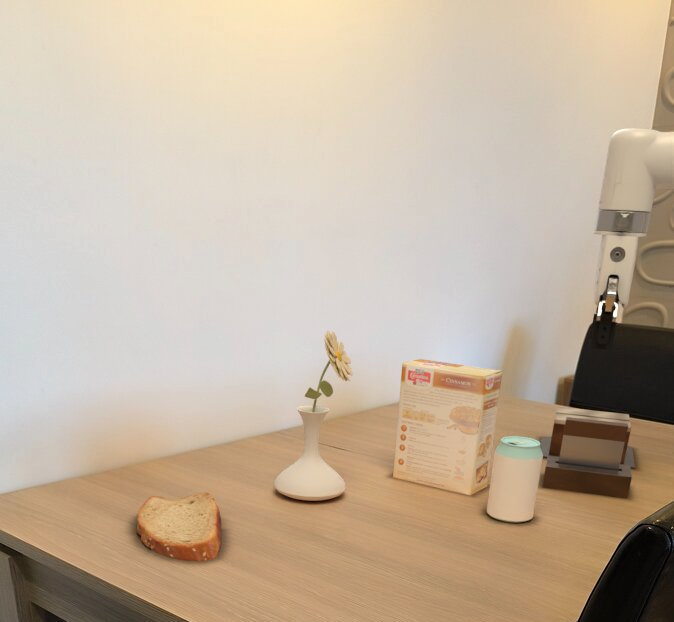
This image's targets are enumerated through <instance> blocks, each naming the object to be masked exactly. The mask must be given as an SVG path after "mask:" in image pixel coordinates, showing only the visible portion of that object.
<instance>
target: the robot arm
mask: <svg viewBox="0 0 674 622" xmlns="http://www.w3.org/2000/svg"><path fill="white" fill-rule="evenodd" d="M600 189H601V190H600V194H599V195H600V196H599V202H598V208H597V209H598V210H597V212H596V213H597V214H596V218H595V219H596V220H595V226H594V231H593V234H594V235H601V240H600V245H599V251H598V257H597V265H596V272H595V280H594V293H593V299H594V301H593V302H594V305H596V310H595V313H593V318H592V324H591V330H590V335H589V336H590V337H589V339H590V345H589V346H590V347H589V348H591V349H594V350H604V351H611V350H612V349H613V345H614V341H615V334H616V329H617V323H618V322H617V315H618V308H619V305H621V307H622V309H625V308H627V307H628V306H629V302H630V301H629V299H630V293H631V290H632V289H631V288H632V283H633V277H634V271H635V266H636V261H637V254H638V247H639V238H647V237H648V236H647V234H648V231H649V225H650V220H651V214H652V209H653V204H654V200H655V195H656V190H659V191H674V131H659V130H656V129H652V128H638V127H637V128H635V127H634V128H631V127H630V128H622V129H618V130H617V131H615V132H614V133H613V134H611V136H610V140H609V144H608V148H607V154H606V159H605V165H604V170H603V178H602V183H601V188H600Z"/></svg>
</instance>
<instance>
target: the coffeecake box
mask: <svg viewBox="0 0 674 622" xmlns="http://www.w3.org/2000/svg"><path fill="white" fill-rule="evenodd" d="M502 377H503V370H499V369H492V368H484V367H477V366H472V365H465V364H464V365H463V364H457V363H450V362H445V361H444V362H443V361H437V360H431V359H424V358H419V359H415V360H411V361H406V362H403V363H402V365H401V375H400V388H399V397H398V398H399V399H398V411H397V412H398V413H397V424H396V433H395V435H396V436H395V445H394V446H395V448H394V457H393V459H394V460H393V470H392V473H393V474H392V478H395V479H398V480H402V481H407V482H411V483H415V484H419V485H424V486H428V487H432V488H435V489H441V490H444V491H449V492H453V493H456V494H457V493H458V494H462V495H466V496H473V495H474V494H477V493H478V492H480V491H481V490H483V489H485V488H487V487H488V482H489V477H490V476H489V474H490V470H491V469H490V468H491V462H492V453H493V446H494V445H493V444H494V439H495V432H496V431H495V430H496V422H497V416H498V408H499V401H500V394H501V385H502Z"/></svg>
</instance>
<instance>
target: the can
mask: <svg viewBox="0 0 674 622" xmlns="http://www.w3.org/2000/svg"><path fill="white" fill-rule="evenodd" d="M540 444H541V441H539V440H537V439H534V438H531V437H526V436H519V435H510V436H508V435H507V436H504V437H502V438H501V439H500V443H499V444H498V445H497V446H496V447H495V449H494V455H493V462H492V471H491V477H490V483H489V490H488V491H489V492H488V497H487V498H488V499H487V504H486V513H487V514H488V515H489V516H490V517H491V518H493V519H495V520H496V521H501V522H505V523H515V524H516V523H517V524H518V523H524V522H527V521H530V520H532V519H533V517H534V513H535V509H536V508H535V507H536V502H537V495H538V489H539V483H540V477H541V472H542V471H541V470H542V465H543V460H544V458H543V453H542V451H541V448H540Z"/></svg>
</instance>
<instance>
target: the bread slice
mask: <svg viewBox="0 0 674 622" xmlns="http://www.w3.org/2000/svg"><path fill="white" fill-rule="evenodd" d="M136 533H137V534H138V535H139V536H140V540H141V543H143V544H144V546H145V547H147V548H148V549H150V550H151V551H153V552H154V553H157V554H159V555H162V556H165V557H167V558H170V559H175V560H178V561H179V560H180V561H187V562H198V563H200V562H207V561H211V560H214V559H216V558H217V557H218V555H219V551H220V548H221V546H222V543H221V542H222V534H221V533H222V517H221V512H220V509H219V506H218V504H217V502H216V500H215V498H214V496H212V494H211V493H210V492H207V491H206V492H202V493H197V494H192V495H188V496H186V497H182V498H169V497H163V496H159V495H152V496H150V497H148V498H147V499H146V500H145V501H144V503H143V504H142V505H141V507H140V508H139V511H138V514H137V515H136Z"/></svg>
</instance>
